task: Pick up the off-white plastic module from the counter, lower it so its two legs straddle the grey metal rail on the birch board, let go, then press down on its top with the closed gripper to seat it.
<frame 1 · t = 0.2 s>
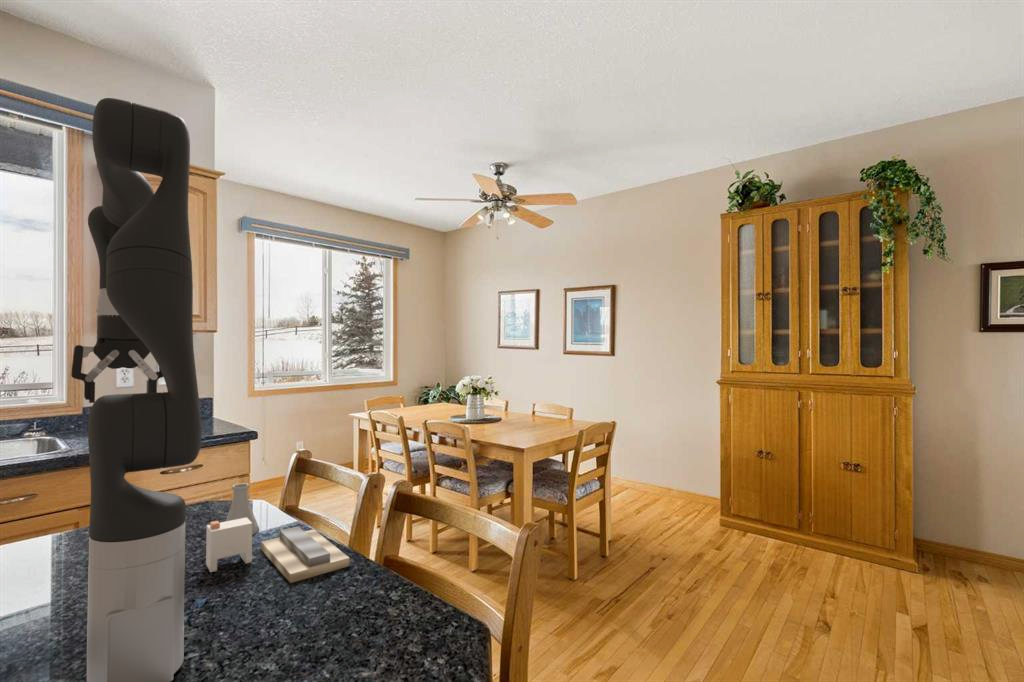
hand: (121, 401, 93), 29 cm above the counter, fingers open, 8 cm apart
flask: (240, 534, 104), on the counter
rail board: (303, 557, 92), on the counter
module: (229, 563, 89), on the counter
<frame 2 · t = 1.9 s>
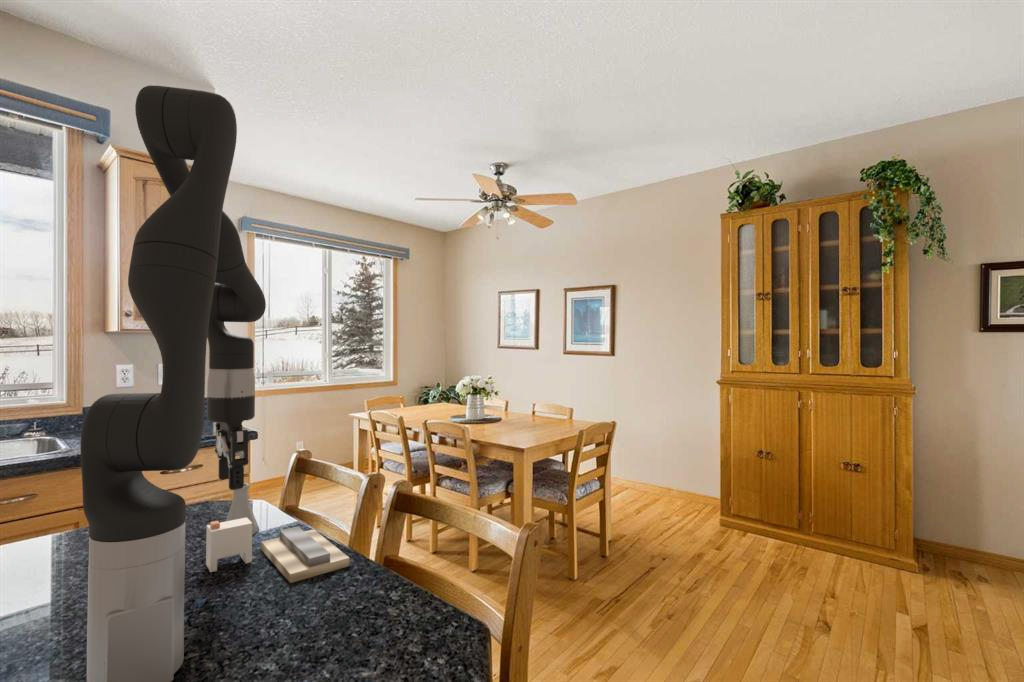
hand: (230, 483, 90), 14 cm above the counter, fingers open, 8 cm apart
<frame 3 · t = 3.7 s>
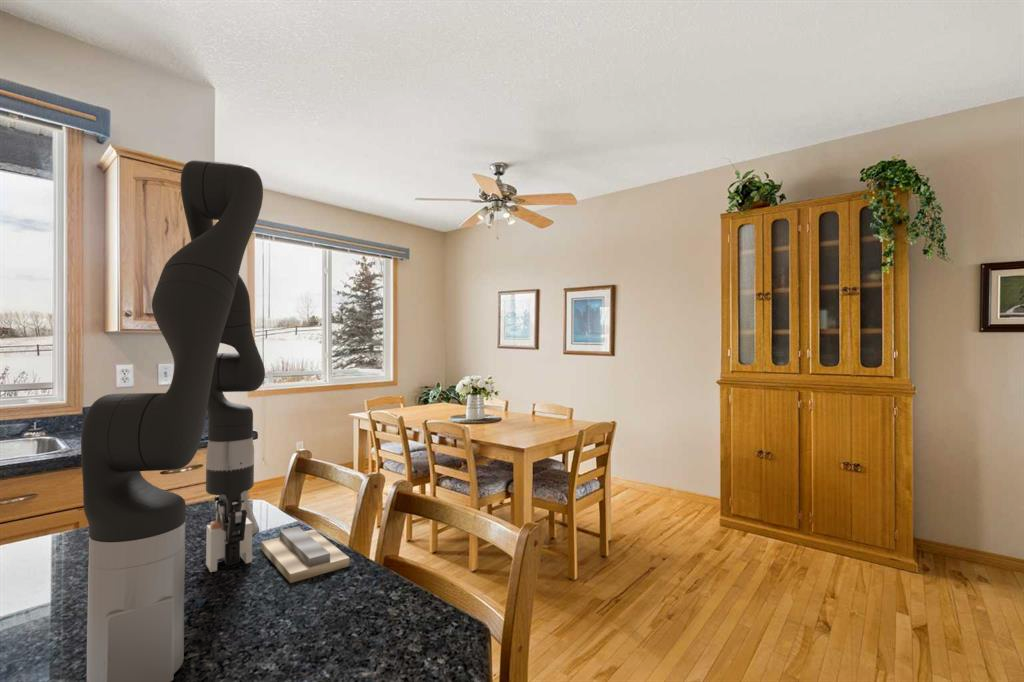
hand: (229, 558, 89), 1 cm above the counter, fingers closed on module, 4 cm apart
module: (229, 563, 89), on the counter, touching gripper
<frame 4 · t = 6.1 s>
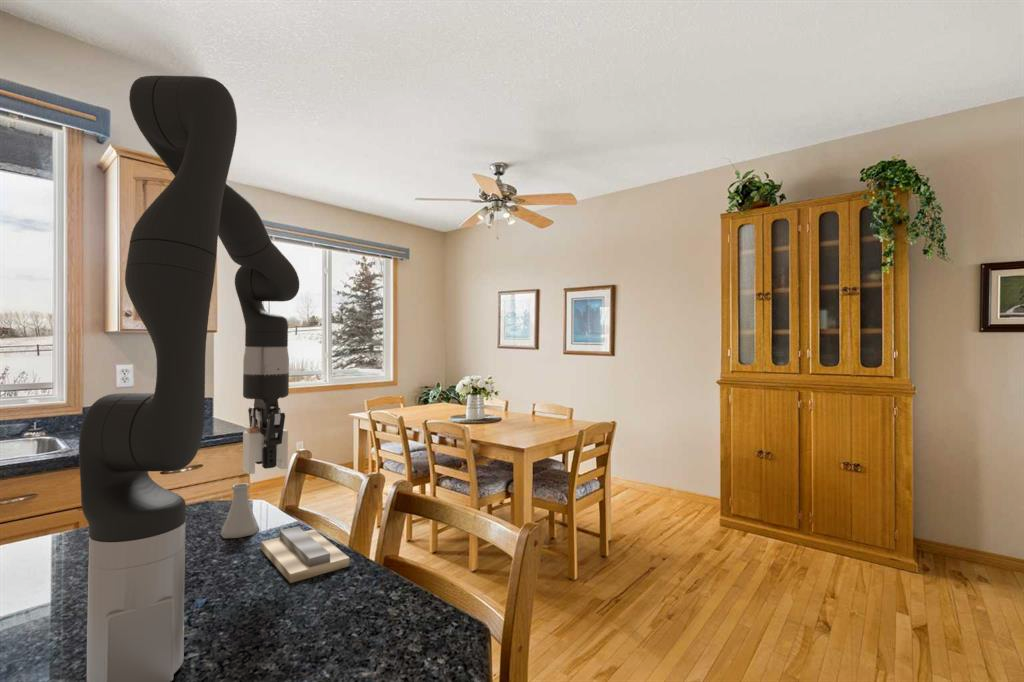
hand: (265, 464, 91), 17 cm above the counter, fingers closed on module, 4 cm apart
module: (265, 469, 91), point 17 cm above the counter, touching gripper
when the fingers open (3 cm above the counter, at t = 8.9 s): module stays where it is, resting on rail board.
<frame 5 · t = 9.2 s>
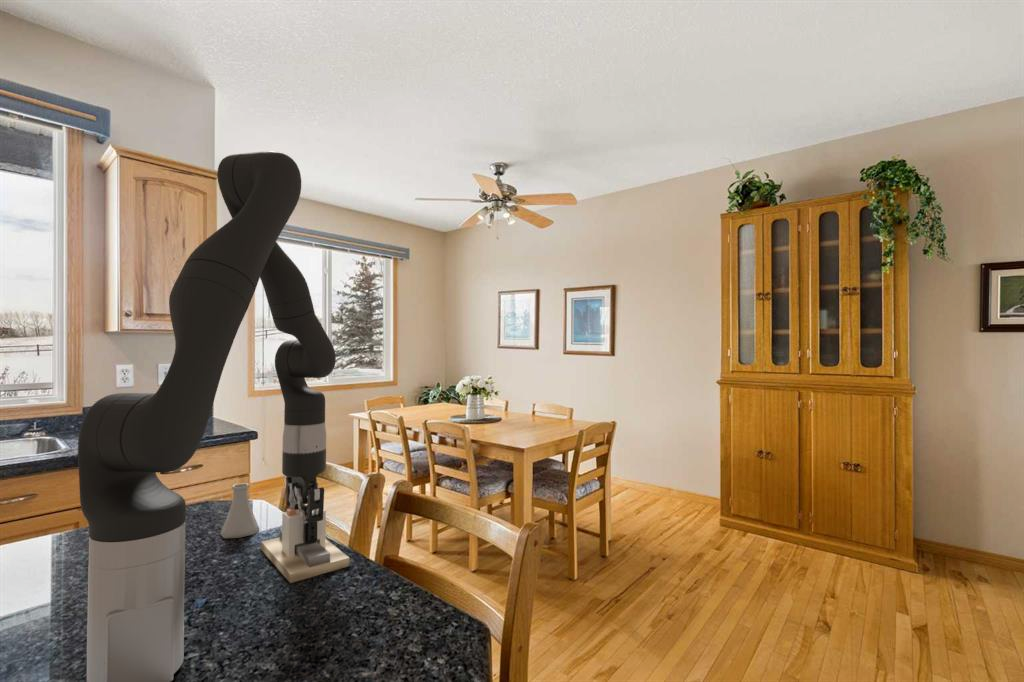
hand: (303, 537, 92), 4 cm above the counter, fingers open, 6 cm apart
module: (303, 549, 92), point 1 cm above the counter, touching rail board
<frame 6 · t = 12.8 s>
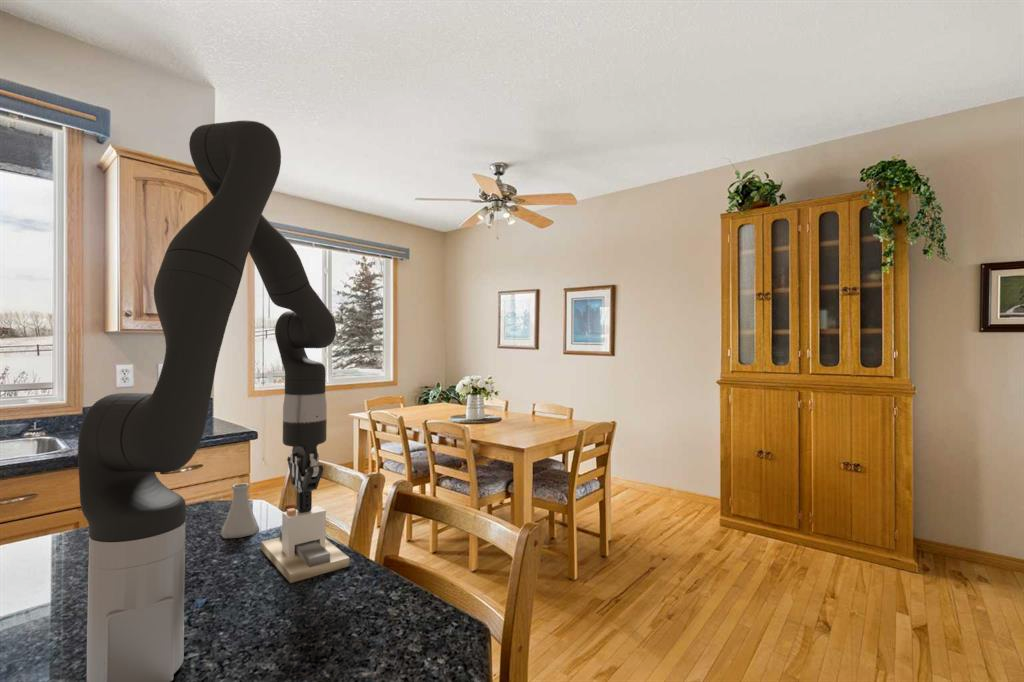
hand: (304, 511, 92), 8 cm above the counter, fingers closed
module: (303, 549, 92), point 1 cm above the counter, touching gripper, rail board
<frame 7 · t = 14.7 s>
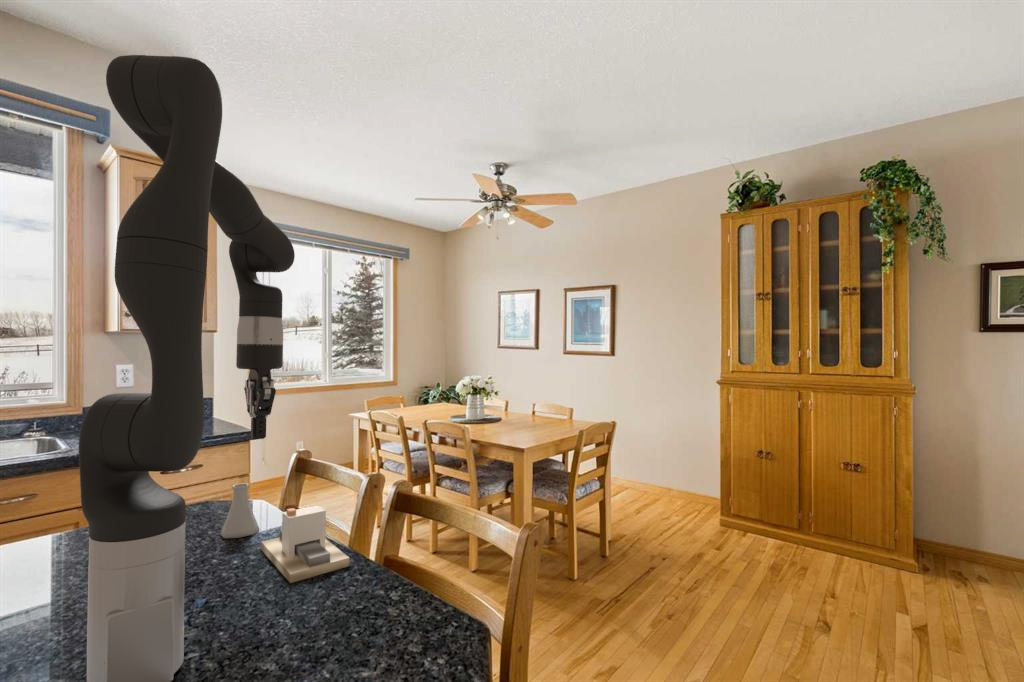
hand: (258, 438, 90), 22 cm above the counter, fingers closed
module: (303, 549, 92), point 1 cm above the counter, touching rail board
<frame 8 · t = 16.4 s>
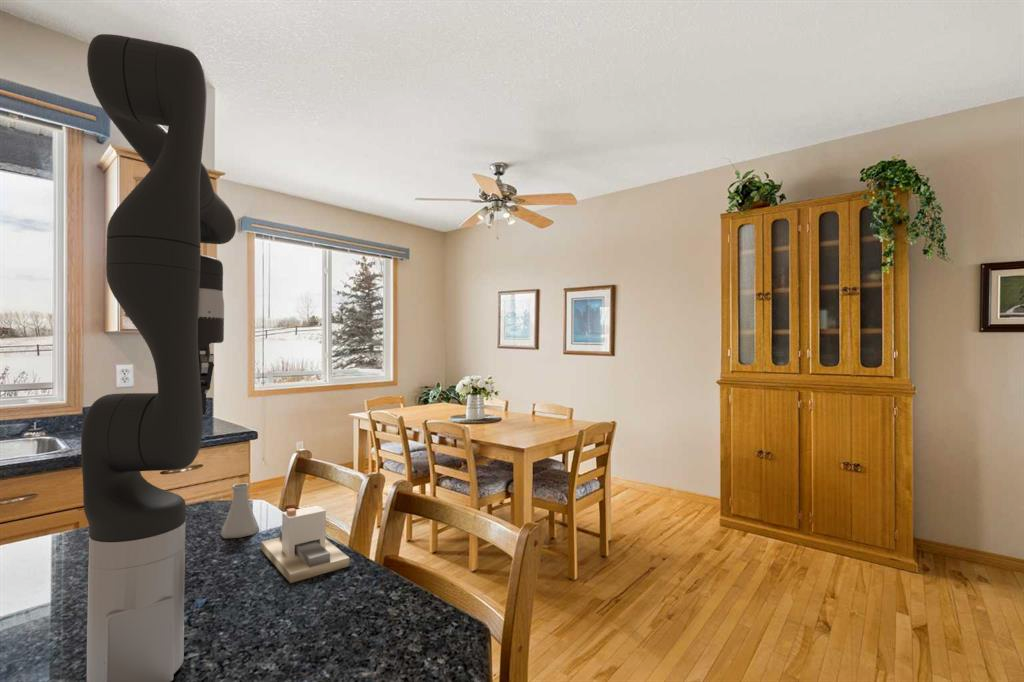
hand: (197, 414, 87), 27 cm above the counter, fingers closed
at the end: module 0.1 cm off-centre on the rail board, point 1.5 cm above the rail board's base; module tilted 0°; the gripper is holding nothing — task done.
